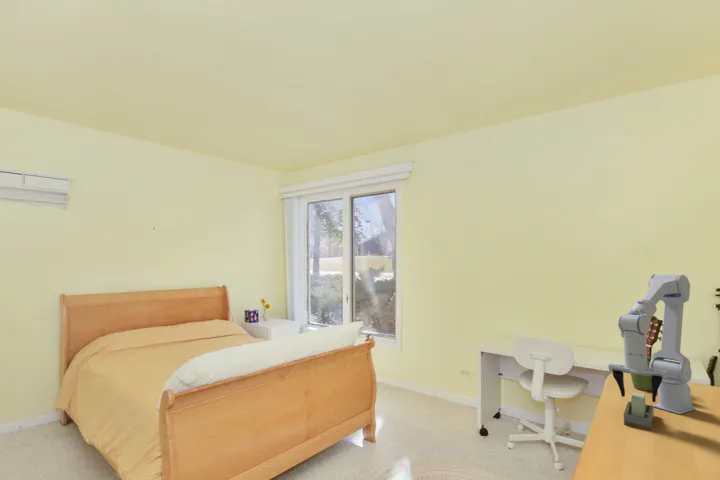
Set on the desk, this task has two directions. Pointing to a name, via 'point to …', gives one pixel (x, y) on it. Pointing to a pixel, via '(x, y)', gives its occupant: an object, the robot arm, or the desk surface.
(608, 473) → the desk surface
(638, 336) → the robot arm
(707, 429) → the desk surface
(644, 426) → the grey rectangular tray
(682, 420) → the desk surface
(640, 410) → the pale green rectangular block
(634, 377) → the plant pot
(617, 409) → the desk surface
